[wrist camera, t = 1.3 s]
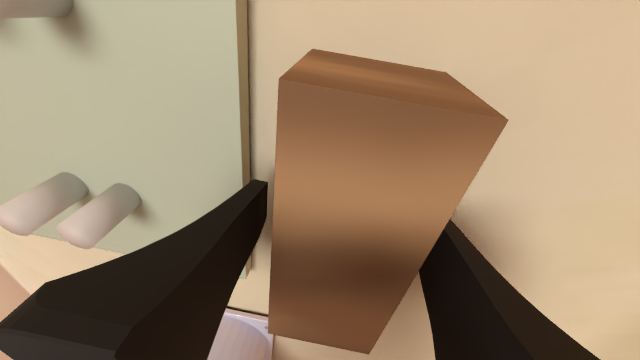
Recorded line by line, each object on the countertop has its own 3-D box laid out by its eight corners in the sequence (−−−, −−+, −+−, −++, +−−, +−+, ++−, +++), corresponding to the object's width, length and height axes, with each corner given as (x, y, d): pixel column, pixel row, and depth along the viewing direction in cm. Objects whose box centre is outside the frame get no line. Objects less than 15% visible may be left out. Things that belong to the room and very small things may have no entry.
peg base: (251, 266, 18) (226, 326, 14) (30, 220, 18) (-44, 268, 15) (242, -249, 6) (104, -549, 3) (-373, -345, 6) (-1129, -705, 3)
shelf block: (366, 267, 16) (368, 354, 12) (290, 252, 17) (267, 333, 12) (444, 71, 10) (508, 120, 5) (313, 48, 10) (278, 78, 6)
